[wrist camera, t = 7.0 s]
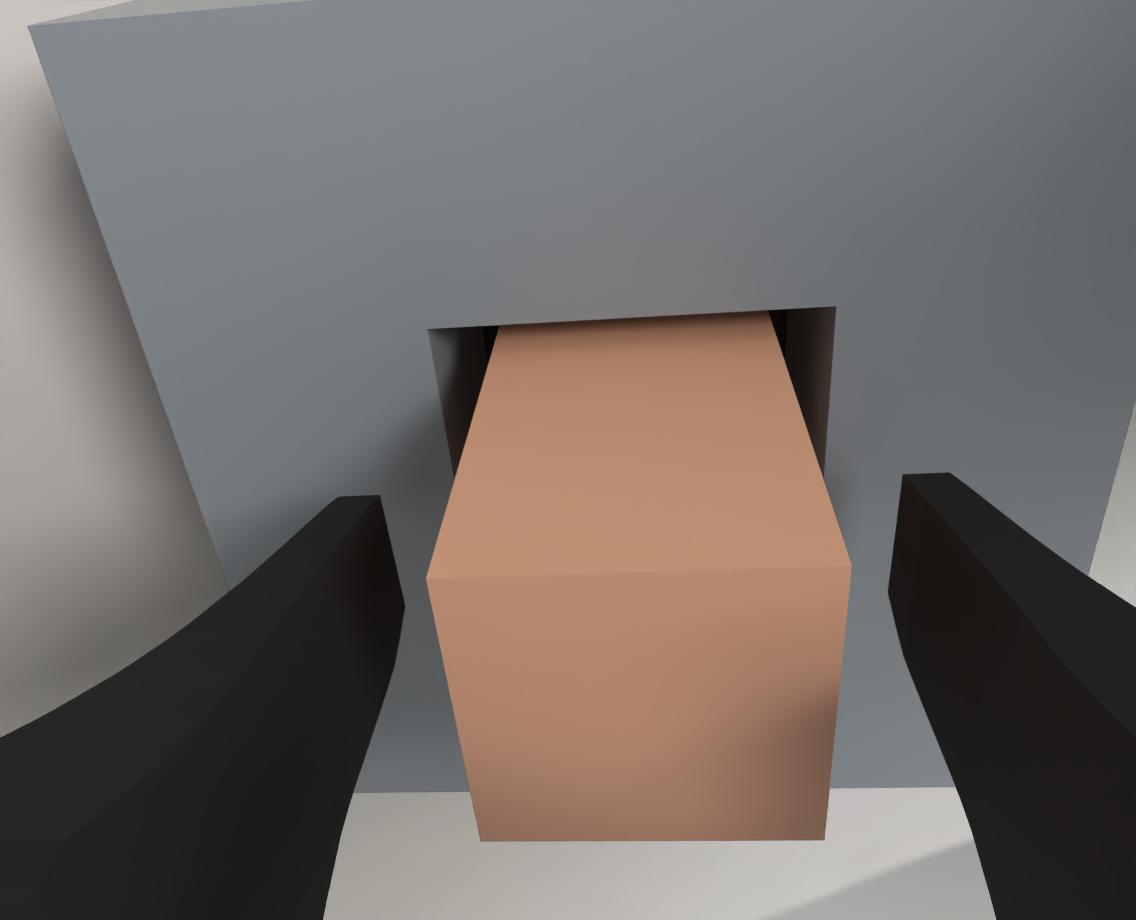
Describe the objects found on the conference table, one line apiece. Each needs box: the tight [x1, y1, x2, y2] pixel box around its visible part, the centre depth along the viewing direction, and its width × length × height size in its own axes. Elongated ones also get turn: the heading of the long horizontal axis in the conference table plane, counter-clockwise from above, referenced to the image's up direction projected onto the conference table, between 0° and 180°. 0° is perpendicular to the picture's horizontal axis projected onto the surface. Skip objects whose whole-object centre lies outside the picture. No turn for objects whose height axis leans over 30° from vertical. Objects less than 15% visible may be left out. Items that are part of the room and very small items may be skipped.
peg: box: [426, 310, 852, 841], centre depth 14 cm, size 4×4×9 cm
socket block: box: [28, 0, 1136, 793], centre depth 16 cm, size 14×14×4 cm
